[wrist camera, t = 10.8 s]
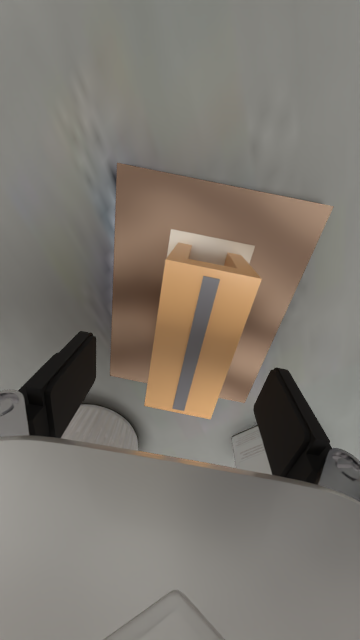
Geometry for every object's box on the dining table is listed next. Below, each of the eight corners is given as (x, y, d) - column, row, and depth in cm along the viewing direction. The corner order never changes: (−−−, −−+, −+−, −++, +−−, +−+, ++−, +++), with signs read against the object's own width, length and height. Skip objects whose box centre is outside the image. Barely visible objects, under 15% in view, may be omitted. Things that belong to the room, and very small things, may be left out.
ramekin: (151, 463, 31) (139, 525, 25) (66, 458, 33) (35, 516, 26) (137, 396, 25) (116, 456, 19) (34, 394, 27) (-16, 449, 21)
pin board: (242, 391, 23) (250, 429, 19) (115, 366, 23) (97, 398, 19) (321, 206, 15) (365, 205, 11) (124, 167, 15) (96, 151, 11)
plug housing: (208, 363, 20) (210, 420, 15) (159, 353, 20) (144, 407, 15) (241, 255, 15) (262, 279, 10) (178, 242, 15) (165, 259, 10)
